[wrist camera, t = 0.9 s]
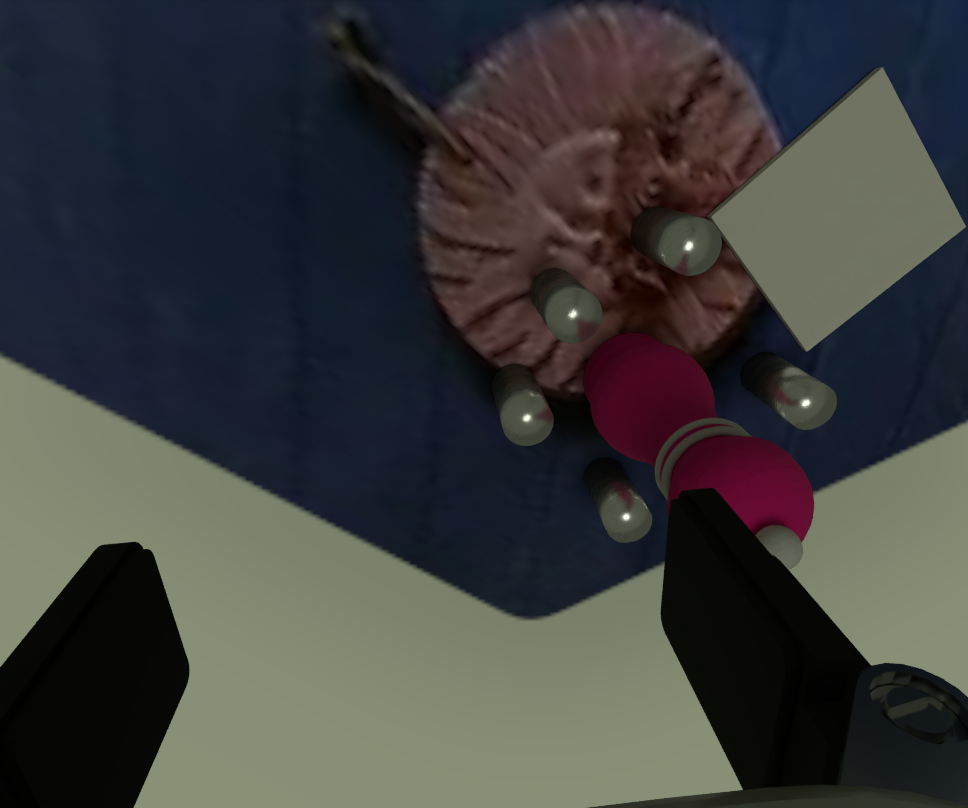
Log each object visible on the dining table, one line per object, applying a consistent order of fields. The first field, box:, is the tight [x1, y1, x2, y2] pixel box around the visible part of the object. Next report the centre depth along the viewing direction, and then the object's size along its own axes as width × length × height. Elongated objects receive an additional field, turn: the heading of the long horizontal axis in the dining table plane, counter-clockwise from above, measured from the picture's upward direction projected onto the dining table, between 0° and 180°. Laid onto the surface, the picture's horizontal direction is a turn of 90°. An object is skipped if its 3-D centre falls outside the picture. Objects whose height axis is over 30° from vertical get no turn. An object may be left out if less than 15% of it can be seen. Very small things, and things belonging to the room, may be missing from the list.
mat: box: [707, 67, 966, 352], centre depth 38 cm, size 12×12×1 cm
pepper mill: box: [583, 333, 814, 570], centre depth 32 cm, size 7×7×20 cm
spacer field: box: [492, 207, 837, 543], centre depth 38 cm, size 16×19×6 cm
